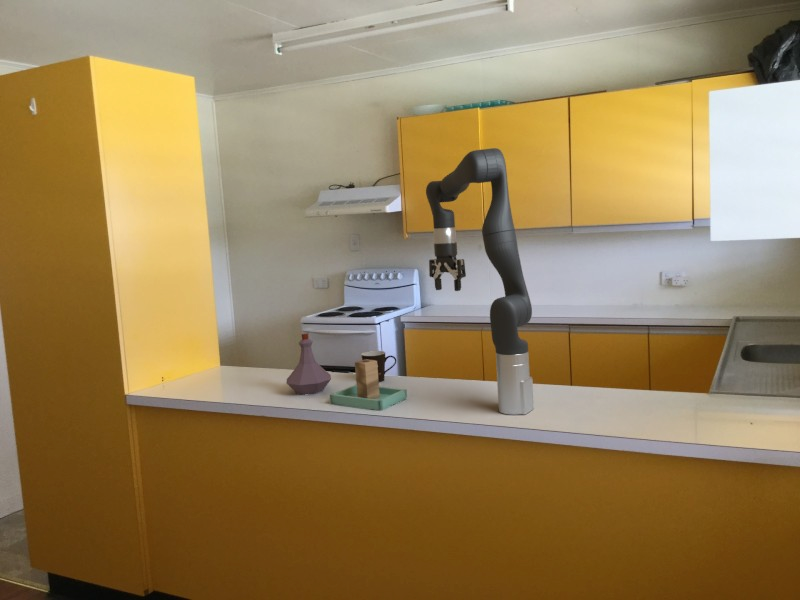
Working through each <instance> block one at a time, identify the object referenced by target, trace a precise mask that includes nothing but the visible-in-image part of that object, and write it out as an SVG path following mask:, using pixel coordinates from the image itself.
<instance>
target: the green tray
mask: <svg viewBox="0 0 800 600" xmlns="http://www.w3.org/2000/svg"><path fill="white" fill-rule="evenodd" d="M407 391H408V390H407V389H406V388H405V389H404V388H394V387H385V386H379V394H380V398H377V399H368V398H360V397H357V384H356V383H355V384H354V385H352V386H348V387H347V388H344V389H341V390H338V391H336V392H334V393H331V394H329V401H330V402H329V403H330V405H335V406H345V407H351V408H358V409H364V408H367V409H366V410H371V409H375V410H374V411H379V410H382V411H383V409H384V410H386V409H388V408H390V407H392V406H394V405H393V404H395V403H397V404H399V403H401V402H403V401H405V400H407V399H408V395H407ZM406 398H407V399H406ZM404 399H405V400H404ZM402 400H403V401H402ZM400 401H401V402H400ZM398 402H399V403H398ZM391 405H392V406H391ZM395 405H396V404H395ZM389 406H390V407H389ZM387 407H388V408H387ZM385 408H386V409H385Z"/></svg>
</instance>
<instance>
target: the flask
mask: <svg viewBox="0 0 800 600" xmlns="http://www.w3.org/2000/svg"><path fill="white" fill-rule="evenodd" d="M301 338H302V339H301V340H299V342H298V345H299V346H300V349H301V350H300V357H299V361H298V363H297V365H296V366H295V368H294V369H293V371H292V372H291V373H290V375H288V377H287V378H286V384H287V386H289V387H290V389H292V390H293V391H294V392H295V393H296V394H297V393H298V394H297V395H303V394H304V395H303V396H305V394H308V395H316V394H319V393H321V392H323V391H324V390H325V389H326V387H327V386H328V384H329V383H330V382H331V380H332V376H331V374H330V373H329V372H328V371H326V370H325V369H324V367H322V366H321V365H320V364H319V363H318V362H317V361H316V359H315V358H316V357H315V356H314V353H313V350H312V344H313V340H312V339H310V338H309V333H301Z"/></svg>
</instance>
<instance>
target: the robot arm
mask: <svg viewBox="0 0 800 600" xmlns="http://www.w3.org/2000/svg"><path fill="white" fill-rule="evenodd" d="M481 183H490V185H491V199H490V200H491V201H490V204H489V208H488V210H487V212H486V214H485V217H484V220H483V223H482V228H481V229H482V230H481V234H482V235H481V236H482V240H483V246H484V251H485V254H486V256H487V259H488V260H489V261H490V263H491V265H492V266H493V267H494V269H495V270H496V272H497V273H498V275H499V276H500V279H501V282H502V284H503V290H504V296H501V297H497V298H496V299H495V300H493V302H492V303H491V304H490V305H491V306H490V308H489V320H490V321H489V322H490V331H491V339H492V340H491V341H492V343H493V345H494V348H495V367H496V382H497V384H496V385H497V399H498V400H497V401H498V404H497V405H498V411H499V413H501V414H504V415H513V416H515V415H527V414H528V413H530V412H531V411H533V410H534V409H535V406H534V404H535V403H534V385H533V383H534V382H533V377H532V376H530V359H529V356H530V355H529V343H528V341H527V340H526V339H522V338H520V337H519V330H518V327H523V326H526V325H527V324H528V323H529V322H530V321H531V319H532V316H533V315H532V314H533V308H532V302H531V299H530V298H531V297H530V295H529V292H528V288H527V284H526V280H525V278H524V273H523V268H522V264H521V258H520V254H519V247H518V239H517V235H516V229H515V224H514V220H513V214H512V208H511V203H510V196H509V195H510V193H509V183H508V173H507V165H506V160H505V156H504V154H503V152H502V151H501V149H499V148H497V147H495V148H484V149H475V150H472V151H468V153H467V154H465V156H464V157H463V158H462V160H461V161H460V162H459V164H458V165H457V166H456V167H455V169H454V170H452V171H451V172H450V173H448V174H447V175H445V176H444V177H443V178H442V180H434V181H433V180H432V181H429V182H428V183H427V185H426V189H425V195H426V198H427V202H428V204H429V208H430V211H431V213H432V220H433V222H432V223H433V248H434V250H433V251H434V252H433V253H434V257H436V258H433V259H432V258H431V259H429V261H428V262H429V263H428V264H429V265H428V270H429V274H428V275H429V277H430V278H433V279H434V289H435V290H436V291H441V290H442V288H443V287H442V284H443V283H442V276H443V274H444V273H448V274H450V275H451V276H452V277H453V286H454V287H453V288H454V292H459V291H461V289H462V279H463V278H466V277H467V276H466V275H467V274H466V263H465V259H464V258H459V259H457V255H458V246H457V245H458V244H457V243H458V242H457V232H456V222H455V212H454V210H452V209H447V208H444V207H442V205H441V203H450V202H454V201H457V200H458V197H459V195H460V194H462V193H464V192H465V191H466V190H467V189H468V188H469V186H470V184H481Z"/></svg>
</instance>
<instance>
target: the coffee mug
mask: <svg viewBox="0 0 800 600" xmlns="http://www.w3.org/2000/svg"><path fill="white" fill-rule="evenodd" d="M360 355H361V360H365V359H369V360H375V361H377V367H378V380H379V383H382V382H384V381H385V374H386V373H387V372H388V371H390V370H391V369H392V368H394V367H395V365H396V364H397V357H395V356H394V355H388V356H386V351H384V350H371V351H365V352H362V353H360ZM388 358H392V359H394V363H393V364H392V365H391V366H390V367H388V368H387V369H385V368H386V367H385V366H386V362H387V360H388Z"/></svg>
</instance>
